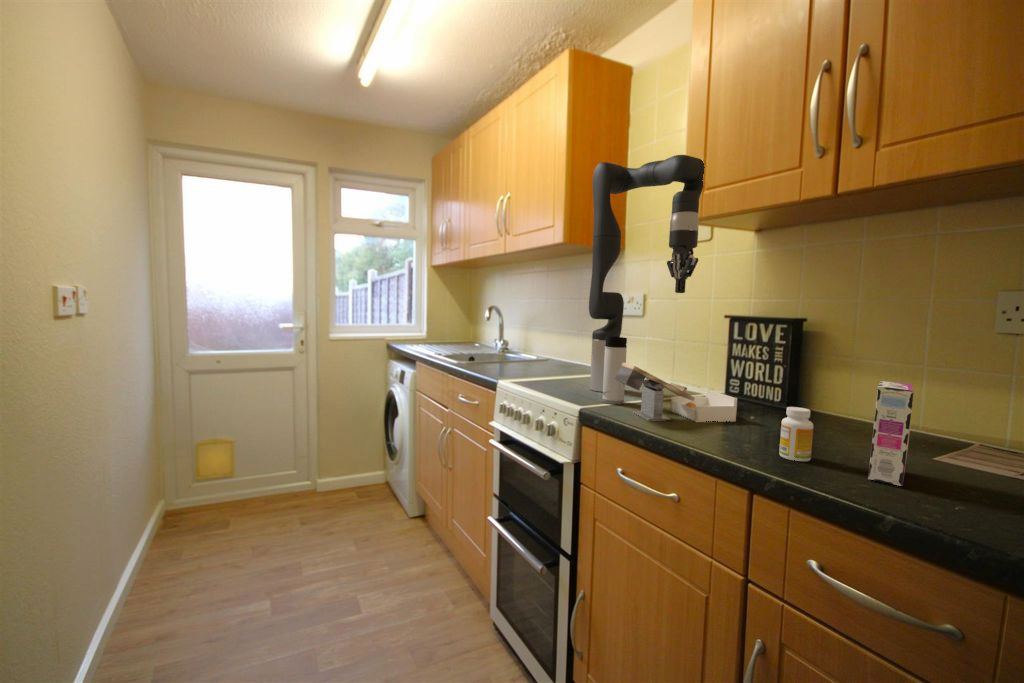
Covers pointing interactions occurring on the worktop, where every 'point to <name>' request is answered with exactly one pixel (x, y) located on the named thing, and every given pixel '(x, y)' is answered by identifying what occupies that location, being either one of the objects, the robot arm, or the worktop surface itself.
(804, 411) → the supplement bottle
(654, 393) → the fulcrum
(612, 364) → the travel mug
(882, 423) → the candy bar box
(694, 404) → the ball
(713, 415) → the tray
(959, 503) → the worktop surface
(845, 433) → the worktop surface
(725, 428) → the worktop surface
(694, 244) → the robot arm
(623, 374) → the lever
